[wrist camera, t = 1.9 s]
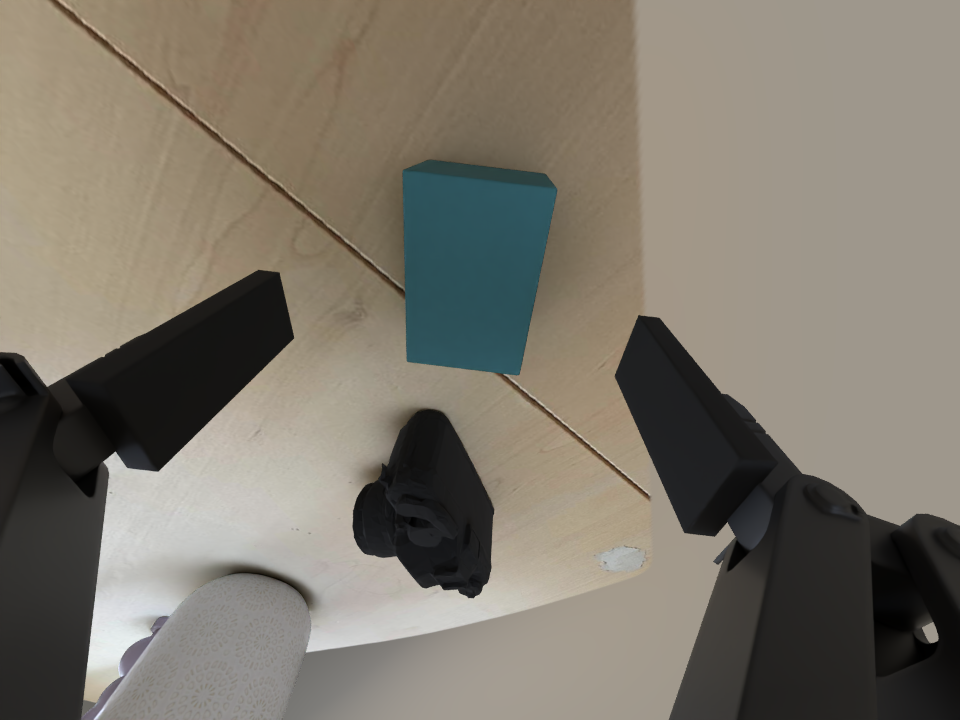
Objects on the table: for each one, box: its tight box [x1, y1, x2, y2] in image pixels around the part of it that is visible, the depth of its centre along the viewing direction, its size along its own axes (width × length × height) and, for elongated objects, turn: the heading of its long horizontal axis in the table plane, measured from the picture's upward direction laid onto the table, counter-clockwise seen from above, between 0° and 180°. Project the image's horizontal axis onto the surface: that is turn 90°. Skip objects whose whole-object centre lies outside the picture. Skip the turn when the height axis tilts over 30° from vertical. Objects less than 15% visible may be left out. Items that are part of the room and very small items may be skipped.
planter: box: [94, 573, 311, 720], centre depth 41 cm, size 17×17×15 cm
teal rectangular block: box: [403, 160, 557, 375], centre depth 18 cm, size 9×6×5 cm, turn 174°
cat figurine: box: [81, 617, 169, 720], centre depth 53 cm, size 8×8×12 cm
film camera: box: [353, 410, 494, 598], centre depth 27 cm, size 15×10×9 cm, turn 18°
